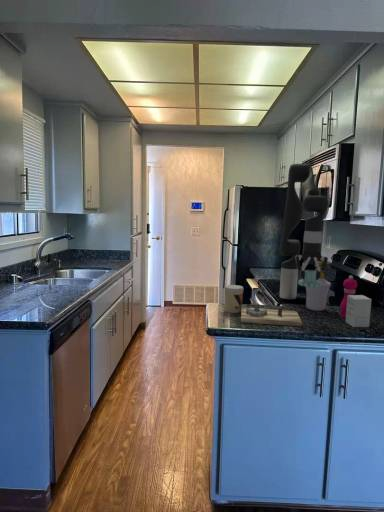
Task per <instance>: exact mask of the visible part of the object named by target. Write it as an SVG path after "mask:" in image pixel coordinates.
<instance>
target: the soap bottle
mask: <svg viewBox="0 0 384 512" xmlns="http://www.w3.org/2000/svg"><path fill="white" fill-rule="evenodd" d="M322 262H323V261H320V260H319V261H318V263H319V267H321V266H322ZM330 264H331V262H329V261H327V264H326V265H330ZM314 271H315V272H316V271H317V269H316V268H315V269H314ZM324 277H325V273H323V270H322V271H321V272H320V278H318V280H316V281H320V282H321V286H320V287H305V290H306V300H305V306H306V308H307V309H308V310H311V311H315V312H322V311H324V310H325V309H326V308H327V307H326V306H327V298H328V292H329V290H330V288H331V286H332V284H331V282H330V281H328V280H326V279H325V278H324Z"/></svg>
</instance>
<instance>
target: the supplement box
mask: <svg viewBox="0 0 384 512" xmlns="http://www.w3.org/2000/svg"><path fill="white" fill-rule="evenodd" d="M371 310H372V298H369V297H367V296H366V295H363V294H356V295H355V294H354V295H348V296H347V309H346V318H345V323H346V324H348V325H349V326H351V327H352V328H369V327H370V320H371Z"/></svg>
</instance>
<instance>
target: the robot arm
mask: <svg viewBox="0 0 384 512" xmlns="http://www.w3.org/2000/svg"><path fill="white" fill-rule="evenodd" d="M296 183H302V185H301V188H300V193H301V195H302V199H303V200H302V201H301V199H300V197H299V195H298V193H297V191H296V185H295V184H296ZM328 207H329V199H328V198H327V196H326V195H320V191H319V189H318V187H317V185H316V181H315V175H314V171H313V167H312V165H311V164H309V163H291V164H290V165H289V168H288V176H287V193H286V200H285V207H284V214H283V226H282V232H281V236H280V237H281V238H280V243H279V254H280V255H281V256H283V257H285V256H286V257H291V258H290V259H288V260H285V261H283V262H281V267H280V282H279V283H280V284H279V298H280V299H283V300H284V299H285V300H295V299H297V292H298V291H297V290H298V277H299V276H300V278H301V279H304V272H305V271H306V268H307V266H308V265H314V267H315V269H317V271H316V272H317V277H316V280H318V278H320V272H321V271H322V272H323V271H325V270H326V267H327V265H328V264H327V262H328V259H329V257H327V256H326V255H325V256H323V255H322V253H321V252H322V243H323V242H322V241H323V235H322V233H323V222H324V217H325V214H326V212H327V209H328ZM304 211H305V212H307V213H308V212H310V213H316V215H314V216H310V217H307V218H306V219H305V223H304V233H303V245H302V253H301V254H300V252H301V242H300V240H299V239H289V237H290V235H291V233H292V232H293V230H294V229H296V227H297V226H298V225H299V224H300V222H301V220H302V217H303V212H304ZM301 260H303V262H302V265H301V264H300V261H301ZM320 260H321V262H322V265H321V267H319V263H318V261H319V262H320ZM299 270H300V273H299ZM299 274H300V275H299ZM298 275H299V276H298Z"/></svg>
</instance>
